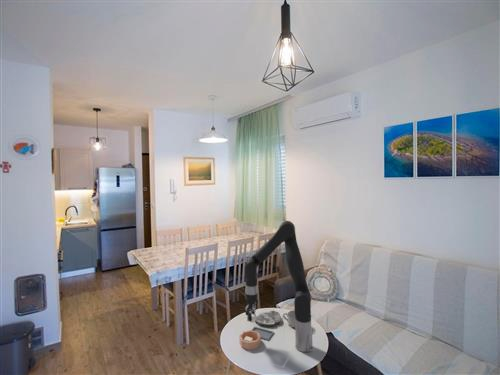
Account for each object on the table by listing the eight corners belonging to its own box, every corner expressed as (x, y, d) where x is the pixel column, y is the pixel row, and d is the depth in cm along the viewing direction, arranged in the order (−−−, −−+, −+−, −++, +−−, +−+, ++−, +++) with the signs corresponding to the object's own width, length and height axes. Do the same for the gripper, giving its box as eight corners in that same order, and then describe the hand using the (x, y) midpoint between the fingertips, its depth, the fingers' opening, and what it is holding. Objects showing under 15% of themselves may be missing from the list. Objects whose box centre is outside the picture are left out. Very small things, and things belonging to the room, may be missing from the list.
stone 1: (255, 320, 163) (255, 314, 162) (253, 322, 160) (253, 317, 160) (249, 318, 165) (249, 312, 165) (247, 320, 162) (246, 315, 162)
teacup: (305, 324, 180) (305, 312, 180) (300, 332, 171) (299, 320, 171) (287, 318, 188) (287, 307, 187) (280, 326, 178) (280, 314, 178)
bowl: (263, 340, 162) (263, 333, 162) (254, 352, 152) (254, 344, 152) (246, 335, 168) (246, 328, 168) (236, 346, 157) (236, 339, 157)
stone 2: (252, 343, 159) (252, 338, 158) (250, 347, 156) (250, 341, 156) (246, 341, 161) (246, 336, 161) (243, 345, 158) (243, 339, 158)
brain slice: (265, 332, 172) (265, 327, 172) (250, 320, 186) (250, 316, 186) (287, 322, 183) (287, 318, 183) (271, 312, 197) (271, 308, 197)
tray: (273, 333, 170) (273, 331, 170) (268, 341, 162) (268, 339, 162) (254, 328, 176) (254, 326, 176) (248, 335, 168) (248, 333, 168)
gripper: (251, 297, 154) (251, 326, 154) (262, 288, 166) (262, 315, 166) (240, 294, 157) (240, 323, 158) (251, 286, 170) (251, 312, 170)
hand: (251, 319), depth 162 cm, fingers closed on stone 1, 3 cm apart
